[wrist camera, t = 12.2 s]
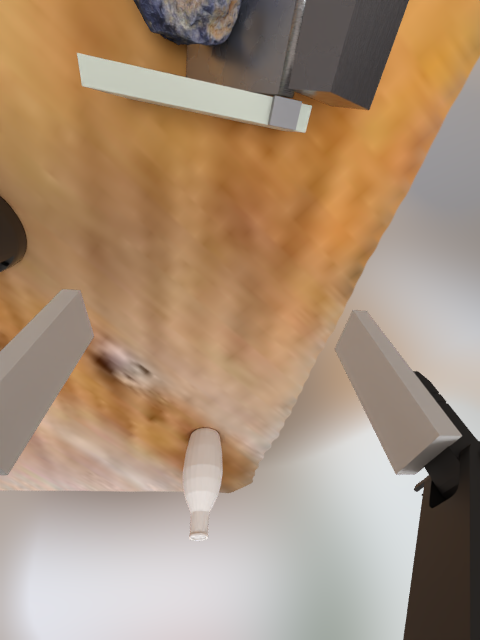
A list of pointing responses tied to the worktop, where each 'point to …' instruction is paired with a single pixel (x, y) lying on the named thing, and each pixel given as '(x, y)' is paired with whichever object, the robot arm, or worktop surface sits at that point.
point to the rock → (190, 19)
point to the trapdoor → (304, 49)
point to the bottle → (202, 478)
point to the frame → (192, 95)
